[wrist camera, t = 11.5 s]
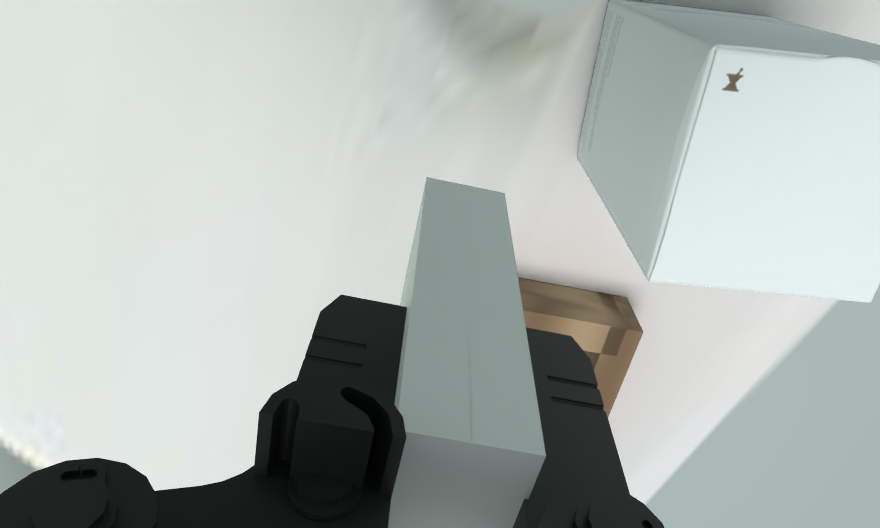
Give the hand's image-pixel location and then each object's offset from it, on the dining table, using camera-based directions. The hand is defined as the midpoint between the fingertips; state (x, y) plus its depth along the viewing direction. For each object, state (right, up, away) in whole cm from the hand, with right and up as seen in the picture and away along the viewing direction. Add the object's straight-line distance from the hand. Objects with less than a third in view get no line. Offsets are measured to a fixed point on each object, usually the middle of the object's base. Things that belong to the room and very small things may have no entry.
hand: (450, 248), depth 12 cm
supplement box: (+12, +9, +23) cm, 28 cm away
